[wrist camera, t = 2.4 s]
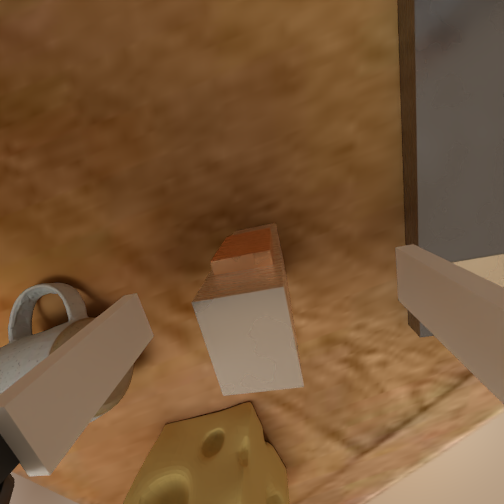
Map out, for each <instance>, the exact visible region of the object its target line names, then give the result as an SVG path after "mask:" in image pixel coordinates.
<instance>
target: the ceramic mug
mask: <svg viewBox="0 0 504 504" xmlns="http://www.w3.org/2000/svg"><path fill="white" fill-rule="evenodd" d="M49 293H54V294H57V293H58V294H59V296H60V297H61V298H62V300H63V303H64V305H65V307H66V311H67V315H68V320H69V321H68V322H66V323H63V324H61V325H58V326H55V327H53V328H51V329H49V330H46V331H43V332H40V333H37V334H34V335H33V334H32V315H33V310H34V307H35V304H36V303H37V300H38V299H39V298H40V297H41V296H43V295H46V294H49ZM86 311H87V310H86V306H85V302H84V301H83V299H82V297H81V296H80V294H79V292H78V291H77V290H76V289H75V288H73V287H72V286H70V285H68V284H64V283H44V284H38V285H35V286H32V287H30V288H28V289H26V290H25V291H23V292H22V293H21V294H20V295H19V297H18V298H17V300H16V301H15V303H14V305H13V308H12V311H11V314H10V319H9V326H8V335H9V343H8V344H7V345H5V346H3V347H1V348H0V394H1V393H3V392H4V391H5V390H6V389H8V388H9V387H10V386H11V385H13V384H14V383H15V382H16V381H18V380H19V379H20V378H21V377H23V376H24V375H25V374H26V373H28V372H29V371H30V370H31V369H33V368H34V367H35V366H36V365H38V364H39V363H40V362H41V361H43V360H44V359H45V358H46V357H48V356H49V355H50V354H51V353H53V352H54V351H55V350H56V349H58V348H59V347H60V346H61V345H63V344H64V343H65V342H66V341H68V340H69V339H70V338H71V337H73V336H74V335H75V334H76V333H78V332H79V331H80V330H81V329H83V328H84V327H85V326H87V325H88V324H89V323H90V322H92V321H93V320H94V319H95V318H93V317H90V318H89V317H88V316H87V312H86ZM133 368H134V364H133V365H132V366H131V368H130V369H129V370H128V372H127V373H126V374H125V376H124V377H123V378H122V380H121V381H120V382H119V384H118V385H117V386H116V388H115V389H114V390H113V392H112V393H111V394H110V396H109V397H108V398H107V400H106V401H105V402H104V404H103V405H102V406H101V408H100V409H99V410H98V412H97V413H96V414H95V416H94V417H93V418H92V420H91V421H90V422H92V421H94V420H95V419H97V418H99V417H100V416H102V415H103V414H105V413H106V412H108V411H109V410H111V409H112V408H113V407H114V406H115V405H116V404H118V402H119V401H120V400H121V399H122V398H123V396H124V395H125V393H126V391H127V389H128V387H129V385H130V382H131V378H132V374H133Z"/></svg>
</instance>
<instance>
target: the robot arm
mask: <svg viewBox="0 0 504 504" xmlns="http://www.w3.org/2000/svg"><path fill="white" fill-rule="evenodd" d="M395 249H396V267H397V285H398V300H399V301H400V302H401V303H402V304H403V305H404V306H405V307H406V308H407V309H408V310H409V311H410V312H411V313H412V314H413V315H414V316H415V317H416V318H417V319H418V320H419V321H420V322H421V323H422V324H423V325H424V326H425V327H426V328H427V329H428V330H429V331H430V332H431V333H432V334H433V335H434V336H435V337H436V338H437V339H438V340H439V341H440V342H441V343H442V344H443V345H444V346H445V347H446V348H447V349H448V350H449V351H450V352H451V353H452V354H453V355H454V356H455V357H456V358H457V359H458V360H459V361H460V362H461V363H462V364H463V365H464V366H465V367H466V368H467V369H468V370H469V371H470V372H471V373H472V374H474V375H475V376H476V377H477V378H478V379H479V380H480V381H481V382H482V383H483V384H484V385H485V386H486V387H487V388H488V389H489V390H490V391H491V392H492V393H493V394H494V395H495V396H496V397H497V398H498V399H499V400H500V401H501V402H502V403H503V404H504V288H503V287H501V286H499V285H497V284H495V283H493V282H491V281H489V280H487V279H485V278H482V277H480V276H478V275H476V274H474V273H472V272H470V271H468V270H466V269H464V268H462V267H460V266H458V265H455V264H453V263H451V262H449V261H447V260H445V259H443V258H441V257H439V256H437V255H435V254H433V253H431V252H428V251H426V250H424V249H422V248H420V247H418V246H416V245H414V244H412V245H406V246H400V247H395ZM153 337H154V335H153V332H152V330H151V327H150V325H149V322H148V320H147V317H146V315H145V312H144V310H143V307H142V305H141V302H140V300H139V297H138V295H137V293H135V294H130V295H124V296H123V297H122V298H120V299H119V300H118V301H117V302H115V303H114V304H113V305H112V306H110V307H109V308H108V309H107V310H105V311H104V312H103V313H102V314H100V315H99V316H98V317H97V318H95V319H94V320H93V321H92V322H90V323H89V324H88V325H87V326H85V327H84V328H83V329H81V330H80V331H79V332H78V333H76V334H75V335H74V336H73V337H71V338H70V339H69V340H68V341H66V342H65V343H64V344H63V345H61V346H60V347H59V348H58V349H56V350H55V351H54V352H53V353H51V354H50V355H49V356H48V357H46V358H45V359H44V360H43V361H41V362H40V363H39V364H38V365H36V366H35V367H34V368H33V369H31V370H30V371H29V372H28V373H26V374H25V375H24V376H23V377H21V378H20V379H19V380H18V381H16V382H15V383H14V384H13V385H11V386H10V387H9V388H8V389H6V390H5V391H4V392H3V393H1V394H0V504H9V502H10V499H11V495H12V492H13V488H14V478H13V477H12V476H11V474H10V473H11V472H12V471H13V469H14V468H15V467H16V466H17V465H18V464H19V463H20V464H21V466H22V467H23V468H24V470H25V471H26V473H27V474H28V475H29V476H44V475H51V473H52V472H53V471H54V469H55V468H56V467H57V465H58V464H59V463H60V461H61V460H62V459H63V457H64V456H65V455H66V453H67V452H68V451H69V449H70V448H71V447H72V445H73V444H74V443H75V441H76V440H77V439H78V437H79V436H80V435H81V433H82V432H83V431H84V429H85V428H86V427H87V425H88V424H89V423H90V421H91V420H92V418H93V417H94V416H95V414H96V413H97V412H98V410H99V409H100V408H101V406H102V405H103V404H104V402H105V401H106V400H107V398H108V397H109V396H110V394H111V393H112V392H113V390H114V389H115V388H116V386H117V385H118V384H119V382H120V381H121V380H122V378H123V377H124V376H125V374H126V373H127V372H128V370H129V369H130V368H131V366H132V365H133V364H134V362H135V361H136V360H137V358H138V357H139V356H140V354H141V353H142V352H143V350H144V349H145V347H146V346H147V345H148V343H149V342H150V341H151V339H152V338H153Z"/></svg>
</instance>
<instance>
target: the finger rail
mask: <svg viewBox="0 0 504 504" xmlns="http://www.w3.org/2000/svg"><path fill="white" fill-rule="evenodd" d="M398 22H399V53H400V83H401V113H402V143H403V173H404V203H405V233H406V245H412V244H414V245H416V246H418V247H420V248H422V249H424V250H426V251H428V252H431V253H433V254H435V255H437V256H439V257H441V258H443V259H445V260H447V261H449V262H451V263H453V264H455V265H458V266H460V267H462V268H464V269H466V270H468V271H470V272H472V273H474V274H476V275H478V276H480V277H482V278H485V279H487V280H489V281H491V282H493V283H495V284H497V285H499V286H501V287H503V288H504V0H398ZM408 324H409V326H410V327H411V328H412V329H413V330H414V331H415V332H416V333H417V335H418V336H419V337H426V336H434V335H433V334H432V333H431V332H430V331H429V330H428V329H427V328H426V327H425V326H424V325H423V324H422V323H421V322H420V321H419V320H418V319H417V318H416V317H415V316H414V315H413V314H412V313H411V312H410V311H409V310H408Z"/></svg>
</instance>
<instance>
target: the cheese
mask: <svg viewBox="0 0 504 504" xmlns="http://www.w3.org/2000/svg"><path fill="white" fill-rule="evenodd" d="M123 504H289V492H288V482H287V472H286V468H285V466H284V464H283V463H282V461H281V459H280V457H279V456H278V454H277V452H276V451H275V449H274V448H273V446H272V445H271V444H269V443H268V442H265V441H264V435H263V427H262V425H261V423H260V421H259V419H258V417H257V414H256V412H255V410H254V407H253V405H252V404H251V402H247V403H243V404H240V405H237V406H234V407H231V408H229V409H226V410H223V411H220V412H216V413H211V414H207V415H204V416H200V417H196V418H191V419H187V420H183V421H178V422H173V423H170V424H166V425H165V426H164V428H163V430H162V432H161V434H160V435H159V437H158V439H157V440H156V442H155V444H154V445H153V447H152V449H151V451H150V452H149V454H148V456H147V457H146V459H145V461H144V463H143V465H142V467H141V468H140V470H139V472H138V474H137V476H136V478H135V480H134V482H133V484H132V486H131V488H130V490H129V492H128V494H127V496H126V498H125V500H124V502H123Z"/></svg>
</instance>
